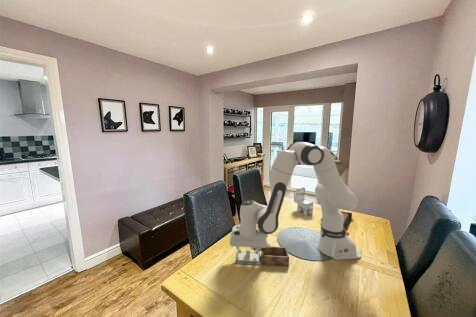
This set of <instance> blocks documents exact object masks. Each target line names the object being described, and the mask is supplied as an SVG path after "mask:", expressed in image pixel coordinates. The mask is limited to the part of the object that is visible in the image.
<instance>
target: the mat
mask: <svg viewBox="0 0 476 317" xmlns="http://www.w3.org/2000/svg"><path fill="white" fill-rule="evenodd" d="M243 252H244V253H246V251H243ZM250 253H255V252H251V251H250ZM258 253H259V262H244V261H237V257H238V251H236V257H235V264H236V265H250V266H251V265H252V266H253V265H254V266H261V258H260V256H261V252H258Z"/></svg>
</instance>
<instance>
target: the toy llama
mask: <svg viewBox="0 0 476 317" xmlns="http://www.w3.org/2000/svg"><path fill="white" fill-rule="evenodd" d="M305 190H306V188H305V187H300V188H296V189H295V192H294V193H293V203H296V204H297V208H296V210H297V211H296V212H297V213H300V214H301V213H302V212H303V216H304V217H307V216H309V215H310V216H312V215H313V213H314V212H313V211H314V203H313V202H312V201H309V200H307V199H305V198H306V197H305V193H306V192H305Z"/></svg>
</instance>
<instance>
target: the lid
mask: <svg viewBox="0 0 476 317" xmlns="http://www.w3.org/2000/svg"><path fill="white" fill-rule="evenodd" d="M245 248H246V251H241V253H238V257H237V261H244V262H259V253H260V252H258V254H255V253H250V252H251V247H245ZM244 252H246V253H244Z"/></svg>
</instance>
